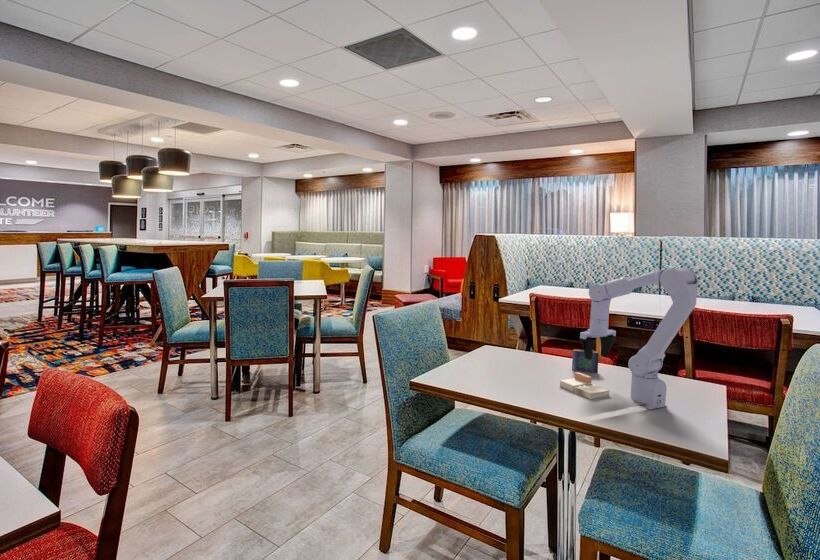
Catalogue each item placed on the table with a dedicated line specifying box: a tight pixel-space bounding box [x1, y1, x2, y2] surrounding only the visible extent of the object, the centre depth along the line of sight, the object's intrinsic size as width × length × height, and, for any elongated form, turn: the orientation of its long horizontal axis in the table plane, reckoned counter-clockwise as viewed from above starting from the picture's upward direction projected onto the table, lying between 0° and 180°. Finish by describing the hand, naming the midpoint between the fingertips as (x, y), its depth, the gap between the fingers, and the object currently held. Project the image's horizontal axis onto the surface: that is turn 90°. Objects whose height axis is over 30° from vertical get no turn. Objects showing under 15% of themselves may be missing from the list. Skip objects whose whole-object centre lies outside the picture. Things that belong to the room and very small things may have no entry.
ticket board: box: [573, 383, 610, 400], centre depth 149 cm, size 16×20×3 cm
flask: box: [571, 349, 599, 374], centre depth 173 cm, size 9×3×11 cm, turn 65°
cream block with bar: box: [559, 371, 593, 393], centre depth 154 cm, size 6×8×4 cm
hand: (596, 357), depth 157 cm, fingers open, 7 cm apart
